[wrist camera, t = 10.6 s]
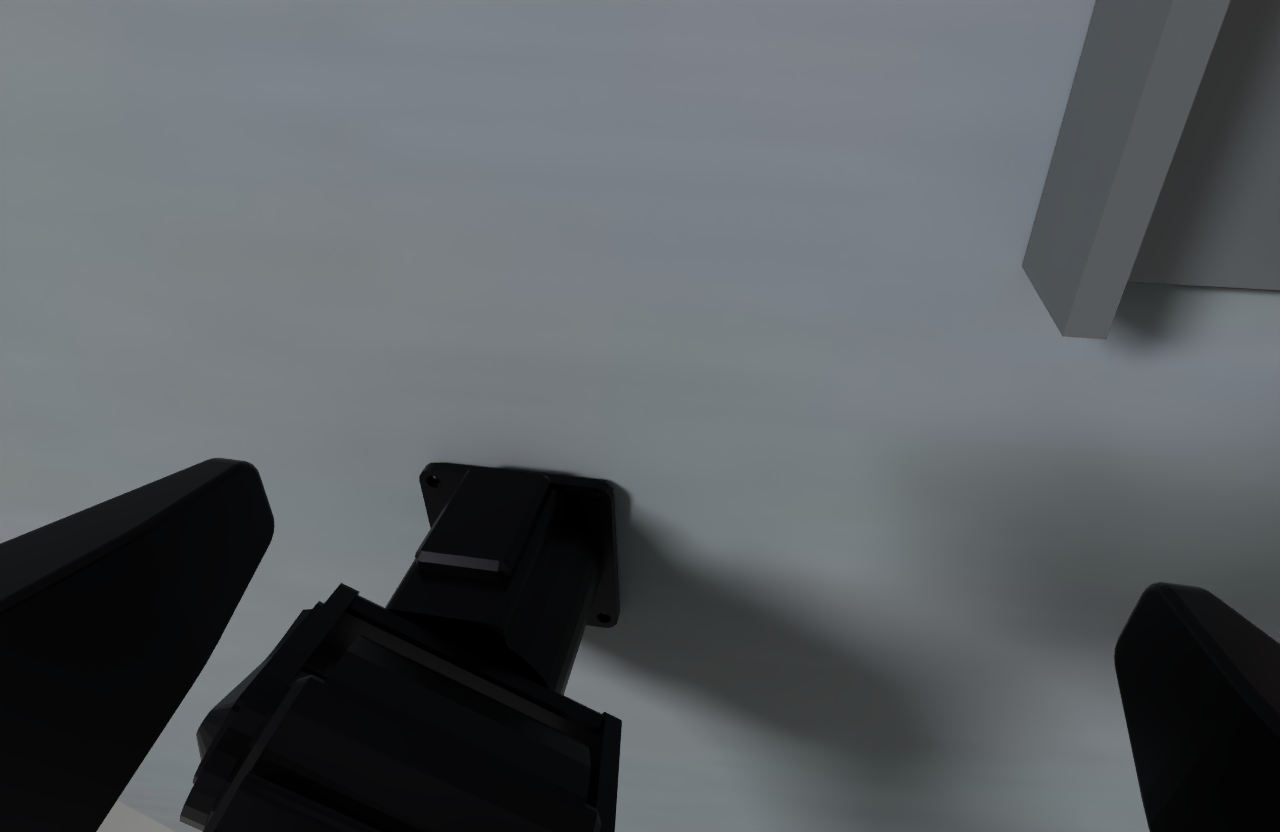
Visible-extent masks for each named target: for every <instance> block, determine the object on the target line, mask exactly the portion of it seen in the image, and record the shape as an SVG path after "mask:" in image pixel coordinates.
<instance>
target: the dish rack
mask: <svg viewBox="0 0 1280 832" xmlns="http://www.w3.org/2000/svg"><path fill="white" fill-rule="evenodd" d="M1022 267H1023V269H1024V271H1025V273H1026V274H1027V276H1028V278H1029V279H1030V281H1031V283H1032V285H1033V286H1034V288H1035V290H1036V292H1037V293H1038V295H1039V297H1040V298H1041V300H1042V302H1043V304H1044V305H1045V307H1046V309H1047V310H1048V312H1049V314H1050V316H1051V317H1052V319H1053V321H1054V322H1055V324H1056V326H1057V328H1058V329H1059V331H1060V333H1061V334H1062V336H1066V337H1081V338H1096V339H1107V336H1108V333H1109V330H1110V328H1111V325H1112V322H1113V319H1114V317H1115V314H1116V311H1117V309H1118V306H1119V303H1120V300H1121V298H1122V295H1123V292H1124V289H1125V287H1126V284H1127V282H1140V283H1158V284H1177V285H1195V286H1214V287H1232V288H1251V289H1269V290H1280V0H1096V3H1095V7H1094V10H1093V14H1092V17H1091V21H1090V25H1089V28H1088V32H1087V35H1086V39H1085V42H1084V46H1083V50H1082V53H1081V57H1080V60H1079V64H1078V68H1077V71H1076V75H1075V78H1074V82H1073V85H1072V89H1071V93H1070V96H1069V100H1068V103H1067V107H1066V110H1065V114H1064V118H1063V121H1062V125H1061V128H1060V132H1059V136H1058V139H1057V143H1056V146H1055V150H1054V153H1053V157H1052V161H1051V164H1050V168H1049V171H1048V175H1047V178H1046V182H1045V186H1044V189H1043V193H1042V196H1041V200H1040V203H1039V207H1038V211H1037V214H1036V218H1035V221H1034V225H1033V229H1032V232H1031V236H1030V239H1029V243H1028V246H1027V250H1026V254H1025V257H1024V261H1023V264H1022Z"/></svg>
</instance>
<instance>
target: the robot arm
mask: <svg viewBox="0 0 1280 832" xmlns="http://www.w3.org/2000/svg"><path fill="white" fill-rule="evenodd" d="M433 476H435V477H437V478H438V479H439V480H440V481H439V480H436V479H435V478H434V477H433ZM419 480H420V485H421V489H422V493H423V498H424V502H425V506H426V510H427V515H428V519H429V523H430V527H431V529H430V531H429V532H428V534H427V536H426V537H425V539H424V541H423V542H422V544H421V545H420V547H419V549H418V550H417V552H416V555H415V558H416V559H415V560H414V562H413V563H412V565H411V567H410V568H409V570H408V571H407V573H406V575H405V576H404V578H403V580H402V581H401V583H400V584H399V586H398V588H397V589H396V591H395V593H394V594H393V596H392V597H391V599H390V601H389V602H388V604H387V606H386V607H385V608H384V607H382V606H380V605H377V604H375V603H373V602H371V601H369V600H367V599H365V598H363V597H361V596H359V591H357V590H355V589H353V588H350V587H348V586H346V585H344V584H342V583H341V584H340V585H339V586H338V588H337V589H336V590H335V591H334V592H333V594H332V595H331V596H330V597H329V598H328V600H327V601H326V602H325V603H322V602H320V601H319V602H318V603H317V604H316V605H315V606H314V608H313V609H307V610H303V611H302V612H301V613H300V615H299V616H298V617H297V619H296V620H295V622H294V623H293V624H292V626H291V627H290V628H289V630H288V631H287V633H286V634H285V635H284V637H283V638H282V639H281V641H280V642H279V643H278V645H277V646H276V647H275V649H274V650H273V651H272V652H271V653H270V655H269V656H268V657H267V658H266V659H265V660H264V661H263V662H262V663H261V664H260V665H259V666H258V667H257V668H256V669H255V670H254V671H253V672H252V673H251V674H250V675H248V676H247V677H246V678H245V679H244V680H243V681H242V682H241V683H240V684H239V685H238V686H237V687H235V688H234V689H233V690H232V691H231V692H230V693H229V694H228V695H227V696H226V697H225V698H224V699H223V700H221V701H220V702H219V703H218V704H217V705H216V706H215V707H214V708H213V709H212V710H211V711H210V712H209V713H208V715H207V716H206V718H205V719H204V720H203V722H202V724H201V725H200V727H199V729H198V731H197V734H196V736H197V741H198V746H199V752H200V757H201V763H200V765H199V767H198V769H197V771H196V773H195V776H194V779H193V784H194V786H193V788H192V790H191V792H190V794H189V796H188V798H187V800H186V802H185V804H184V807H183V809H182V812H181V815H180V821H181V822H183V823H185V824H188V825H190V826H192V827H194V828H197V829H199V830H201V831H203V832H615V818H616V803H617V787H618V772H619V757H620V742H621V727H622V720H620V719H618V718H616V717H614V716H612V715H610V714H608V713H606V712H604V713H603V714H600V713H598V712H596V711H594V710H592V709H590V708H588V707H586V706H584V705H582V704H580V703H578V702H576V701H574V700H572V699H570V698H568V697H566V696H564V692H565V689H566V686H567V683H568V679H569V676H570V673H571V670H572V667H573V664H574V661H575V658H576V654H577V651H578V648H579V645H580V642H581V639H582V636H583V633H584V630H585V626H586V625H590V626H597V627H604V628H610V627H613V626H615V625H616V624H617V621H618V617H619V613H620V603H619V583H618V564H617V544H616V524H615V504H614V492H613V489H612V488H611V486H610V485H609V484H607V483H606V482H604V481H600V480H595V479H585V478H576V477H567V476H557V475H548V474H538V473H529V472H520V471H510V470H501V469H491V468H482V467H473V466H463V465H454V464H444V463H430V464H428V465H427V466H426V467H425V468H424V470H423V471H422V473H421V474H420V476H419ZM592 494H598V495H600V496H601V497H602V498H597V497H595V496H593V495H592ZM273 533H274V518H273V514H272V511H271V508H270V505H269V502H268V499H267V496H266V493H265V490H264V486H263V483H262V480H261V477H260V474H259V472H258V470H257V469H256V468H255V467H254V465H253V464H251V463H249V462H246V461H240V460H232V459H225V458H213V459H209V460H206V461H204V462H201V463H199V464H196V465H194V466H191V467H189V468H186V469H184V470H181V471H179V472H177V473H174V474H172V475H169V476H167V477H164V478H162V479H159V480H157V481H154V482H152V483H149V484H147V485H144V486H142V487H139V488H137V489H134V490H132V491H130V492H127V493H125V494H122V495H120V496H117V497H115V498H112V499H110V500H107V501H105V502H102V503H100V504H97V505H95V506H92V507H90V508H88V509H85V510H83V511H80V512H78V513H75V514H73V515H70V516H68V517H65V518H63V519H60V520H58V521H55V522H53V523H50V524H48V525H46V526H43V527H41V528H38V529H36V530H33V531H31V532H28V533H26V534H23V535H21V536H18V537H16V538H13V539H11V540H8V541H6V542H3V543H1V544H0V832H96V831H97V830H98V828H99V827H100V825H101V824H102V822H103V821H104V819H105V817H106V816H107V814H108V813H109V811H110V810H111V808H112V807H113V805H114V804H115V802H116V801H117V799H118V798H119V796H120V795H121V793H122V792H123V790H124V789H125V787H126V786H127V784H128V783H129V781H130V780H131V778H132V777H133V775H134V774H135V772H136V770H137V769H138V767H139V766H140V764H141V763H142V761H143V760H144V758H145V757H146V755H147V754H148V752H149V751H150V749H151V748H152V746H153V745H154V743H155V742H156V740H157V739H158V737H159V735H160V734H161V732H162V731H163V729H164V728H165V726H166V725H167V723H168V722H169V720H170V719H171V717H172V716H173V714H174V713H175V711H176V710H177V708H178V707H179V705H180V704H181V702H182V701H183V699H184V697H185V696H186V694H187V693H188V691H189V690H190V688H191V687H192V685H193V684H194V682H195V681H196V679H197V677H198V676H199V674H200V673H201V671H202V669H203V668H204V666H205V665H206V663H207V661H208V659H209V658H210V656H211V654H212V652H213V650H214V649H215V647H216V645H217V643H218V642H219V640H220V638H221V636H222V634H223V632H224V630H225V628H226V626H227V624H228V623H229V621H230V619H231V617H232V615H233V613H234V611H235V609H236V607H237V605H238V603H239V602H240V600H241V598H242V596H243V594H244V592H245V590H246V588H247V586H248V584H249V583H250V581H251V579H252V577H253V575H254V573H255V571H256V569H257V567H258V565H259V564H260V562H261V560H262V558H263V556H264V554H265V552H266V550H267V548H268V546H269V545H270V542H271V540H272V537H273ZM603 613H605V614H603ZM1114 659H1115V669H1116V674H1117V679H1118V684H1119V689H1120V694H1121V699H1122V704H1123V709H1124V713H1125V718H1126V723H1127V728H1128V733H1129V738H1130V743H1131V748H1132V753H1133V758H1134V762H1135V767H1136V772H1137V777H1138V782H1139V787H1140V792H1141V797H1142V801H1143V806H1144V810H1145V814H1146V818H1147V823H1148V827H1149V830H1150V832H1280V644H1279V643H1278V642H1276V641H1275V640H1274V639H1272V638H1271V637H1270V636H1268V635H1267V634H1266V633H1264V632H1263V631H1262V630H1260V629H1259V628H1258V627H1256V626H1255V625H1254V624H1252V623H1251V622H1250V621H1248V620H1247V619H1246V618H1244V617H1243V616H1242V615H1240V614H1239V613H1237V612H1236V611H1235V610H1233V609H1232V608H1231V607H1229V606H1228V605H1227V604H1225V603H1224V602H1223V601H1221V600H1220V599H1219V598H1217V597H1216V596H1215V595H1213V594H1212V593H1210V592H1209V591H1207V590H1205V589H1202V588H1199V587H1194V586H1186V585H1179V584H1171V583H1163V582H1159V583H1154V584H1152V585H1150V586H1149V587H1147V588H1146V589H1145V591H1144V592H1143V594H1142V595H1141V597H1140V599H1139V601H1138V603H1137V605H1136V607H1135V608H1134V610H1133V612H1132V614H1131V616H1130V618H1129V620H1128V621H1127V623H1126V625H1125V627H1124V629H1123V631H1122V633H1121V634H1120V636H1119V638H1118V641H1117V644H1116V647H1115V655H1114Z"/></svg>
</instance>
